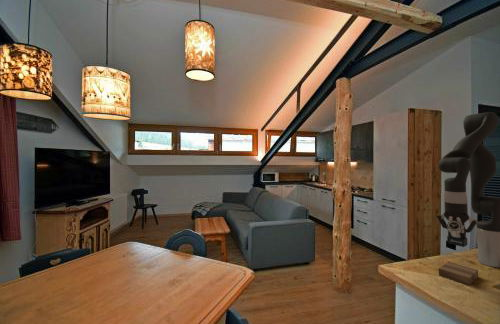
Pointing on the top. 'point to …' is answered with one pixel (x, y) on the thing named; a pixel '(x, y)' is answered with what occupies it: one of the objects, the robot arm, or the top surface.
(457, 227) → the watch
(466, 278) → the plinth
